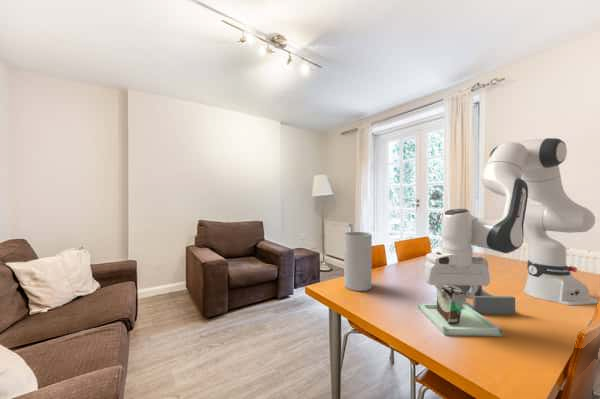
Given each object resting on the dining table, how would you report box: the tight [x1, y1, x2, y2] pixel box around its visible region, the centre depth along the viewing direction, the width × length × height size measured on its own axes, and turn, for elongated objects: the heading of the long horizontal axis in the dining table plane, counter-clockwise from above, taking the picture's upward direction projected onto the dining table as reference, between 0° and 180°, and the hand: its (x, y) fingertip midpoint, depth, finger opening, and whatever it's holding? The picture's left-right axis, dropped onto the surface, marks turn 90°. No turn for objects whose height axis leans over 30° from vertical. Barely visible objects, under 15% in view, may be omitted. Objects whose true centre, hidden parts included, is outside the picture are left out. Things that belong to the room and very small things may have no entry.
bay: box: [453, 285, 516, 315], centre depth 93 cm, size 14×17×6 cm
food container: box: [436, 285, 467, 324], centre depth 80 cm, size 12×6×10 cm, turn 171°
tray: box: [417, 302, 504, 337], centre depth 80 cm, size 17×17×2 cm
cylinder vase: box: [343, 231, 373, 292], centre depth 111 cm, size 12×12×25 cm
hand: (456, 297), depth 80 cm, fingers open, 8 cm apart
